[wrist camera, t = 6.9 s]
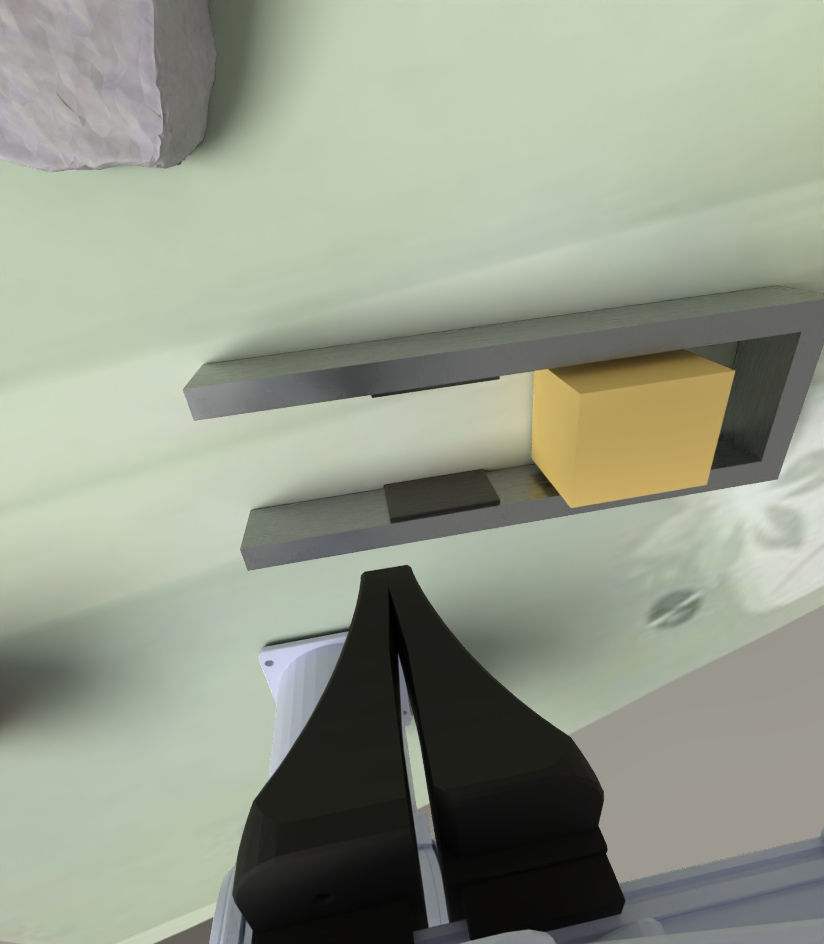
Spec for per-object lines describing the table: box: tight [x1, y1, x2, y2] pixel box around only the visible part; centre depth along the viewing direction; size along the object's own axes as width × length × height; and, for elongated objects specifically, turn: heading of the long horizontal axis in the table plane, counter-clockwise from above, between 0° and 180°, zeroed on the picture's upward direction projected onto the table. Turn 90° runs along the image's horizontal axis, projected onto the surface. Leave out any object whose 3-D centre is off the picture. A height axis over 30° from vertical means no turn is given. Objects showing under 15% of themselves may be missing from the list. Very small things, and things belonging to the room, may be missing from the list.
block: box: [531, 349, 735, 508], centre depth 21 cm, size 5×6×4 cm
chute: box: [183, 286, 824, 571], centre depth 21 cm, size 8×25×3 cm, turn 96°
